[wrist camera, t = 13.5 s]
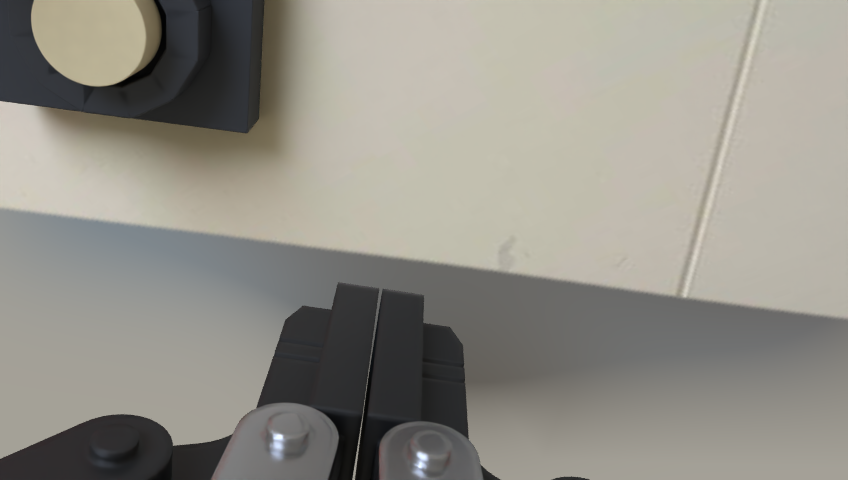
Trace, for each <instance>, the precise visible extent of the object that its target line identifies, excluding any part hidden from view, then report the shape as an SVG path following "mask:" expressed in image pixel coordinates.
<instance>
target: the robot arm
mask: <svg viewBox="0 0 848 480" xmlns="http://www.w3.org/2000/svg"><path fill="white" fill-rule="evenodd" d="M378 293H379V288H373V287H367V286H359V285H353V284H346V283H340V282H338V285H337V289H336V293H335V297H334V302H333V306H332V310H329V309H322V308H315V307H308V306H302V307H301V308H300V309H299V310H298V311H296V312H295V313H293V314H292V315H291V316H290V317H288V318H287V319H286V320H285V323H284V326H283V329H282V332H281V335H280V339H279V342H278V344H277V347H276V350H275V354H274V356H273V359H272V362H271V366H270V369H269V371H268V374H267V378H266V380H265V384H264V386H263V389H262V392H261V395H260V398H259V402H258V405H257V408H256V409H254V410H252V411H250V412H249V413H247V414H246V415H245V416H244V417H243V418H242V419H241V420H240V421H239V423H238V425H237V426H236V428H235V431H234V433H233V434H232V435H230V436H228V437H225V438H222V439H219V440H215V441H211V442H206V443H199V444H189V445H177V446H173V443H172V439H171V436H170V435H169V433H168V432H167V430H166V429H165V428H164V427H163V426H161V425H160V424H158V423H157V422H154V421H153V420H150V419H148V418H144V417H141V416H135V415H124V414H121V415H108V416H102V417H98V418H95V419H92V420H89V421H86V422H84V423H81V424H79V425H77V426H74V427H72V428H70V429H68V430H66V431H63V432H61V433H59V434H56V435H54V436H52V437H49V438H47V439H45V440H43V441H40V442H38V443H36V444H33V445H31V446H29V447H27V448H24V449H22V450H20V451H17V452H15V453H13V454H11V455H8V456H6V457H4V458H2V459H0V480H352V478H353V471H354V465H355V459H356V452H357V446H358V440H359V434H360V427H361V421H362V415H363V422H362V430H361V437H360V445H359V452H358V461H357V468H356V476H355V480H500V479H498V478H497V477H495V476H494V475H492V474H491V473H489V472H488V471H487V470H486V469H485V468H483V466H481V464H480V459H479V456H478V453H477V451H476V449H475V447H474V446H473V444H472V443H471V442H470V441H469V438H468V422H467V406H466V389H465V383H464V382H465V373H464V357H463V345H462V343H461V342H460V341H459V339H458V338H457V336H456V335H455V334H454V332H453V331H452V329H451V328H450V327H446V326H439V325H432V324H426V323H423V310H424V295H422V294H415V293H408V292H401V291H395V290H388V289H383V291H382V296H381V302H380V309H379V315H378V321H377V328H376V334H375V340H374V347H373V352H372V359H371V365H370V372H369V378H368V385H367V391H366V384H367V377H368V369H369V361H370V354H371V347H372V339H373V331H374V323H375V316H376V309H377V300H378ZM365 391H366V399H365ZM364 400H365V406H364ZM363 407H364V414H363ZM553 480H589V479H585V478H580V477H560V478H555V479H553Z"/></svg>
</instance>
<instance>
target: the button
mask: <svg viewBox="0 0 848 480" xmlns="http://www.w3.org/2000/svg"><path fill="white" fill-rule="evenodd" d="M31 24H32V31H33V35H34V38H35V41H36V43H37V45H38V47H39V49H40V51H41V53H42V54H43V56H44V57H45V59H46V60H47V61H48V62H49V63H50V64H51V65H52V66H53V67H54V68H55V69H56V70H57V71H58V72H60V73H61V74H62V75H64V76H65V77H67V78H69V79H71V80H73V81H75V82H77V83H81V84H84V85H88V86H97V87H100V86H109V85H114V84H116V83H119V82H121V81H123V80H125V79H127V78H128V77H130V76H132V75H133V74H135V73H137V72H138V71H140V70H141V69H143V68H144V67H146V66H147V65H148V64H149V63H150V62H151V61H152V59H153V58H154V56H155V55H156V53H157V51H158V48H159V45H160V42H161V36H162V24H161V18H160V14H159V11H158V8H157V5H156V3H155V1H154V0H34V2H33V6H32V12H31Z"/></svg>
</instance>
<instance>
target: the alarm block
mask: <svg viewBox="0 0 848 480" xmlns="http://www.w3.org/2000/svg"><path fill="white" fill-rule="evenodd" d="M154 1H155V3H156V5H157V8H158V11H159V14H160V18H161V24H162V36H161V42H160V45H159V48H158V51H157V53H156V55H155V56H154V58H153V59H152V61H151V62H150V63H149V64H148V65H147V66H146V67H144V68H143V69H141V70H140V71H138V72H137V73H135V74H133V75H132V76H130V77H128V78H127V79H125V80H123V81H121V82H119V83H116V84H114V85H109V86H100V87H97V86H88V85H84V84H81V83H77V82H75V81H73V80H71V79H69V78H67V77H65V76H64V75H62V74H61V73H60V72H58V71H57V70H56V69H55V68H54V67H53V66H52V65H51V64H50V63H49V62H48V61H47V60H46V59H45V57H44V56H43V54H42V53H41V51H40V49H39V47H38V45H37V43H36V41H35V38H34V35H33V31H32V24H31V12H32V6H33V2H34V0H0V101H5V102H12V103H20V104H28V105H35V106H43V107H50V108H58V109H66V110H73V111H81V112H86V113H93V114H101V115H109V116H116V117H124V118H134V119H142V120H149V121H157V122H165V123H172V124H180V125H187V126H195V127H203V128H210V129H218V130H225V131H233V132H241V133H248V132H249V130H250V129H251V128H252V127H253V125H254V124H255V123H256V122H257V120H258V119H259V99H260V78H261V58H262V37H263V16H264V0H154Z"/></svg>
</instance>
